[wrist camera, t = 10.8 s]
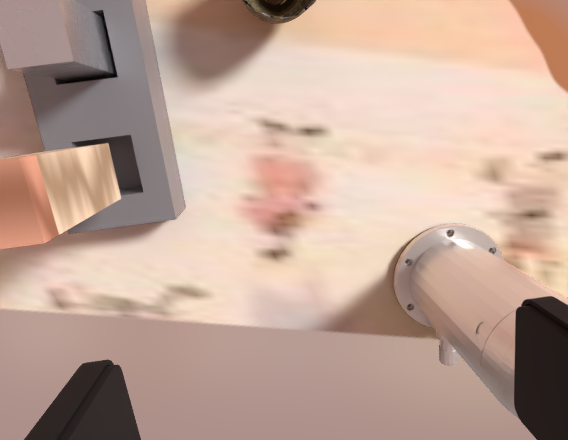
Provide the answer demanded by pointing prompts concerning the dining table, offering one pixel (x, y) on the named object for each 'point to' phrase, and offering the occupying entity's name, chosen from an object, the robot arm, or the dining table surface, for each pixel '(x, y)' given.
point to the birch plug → (53, 192)
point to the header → (118, 121)
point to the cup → (278, 9)
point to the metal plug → (55, 40)
